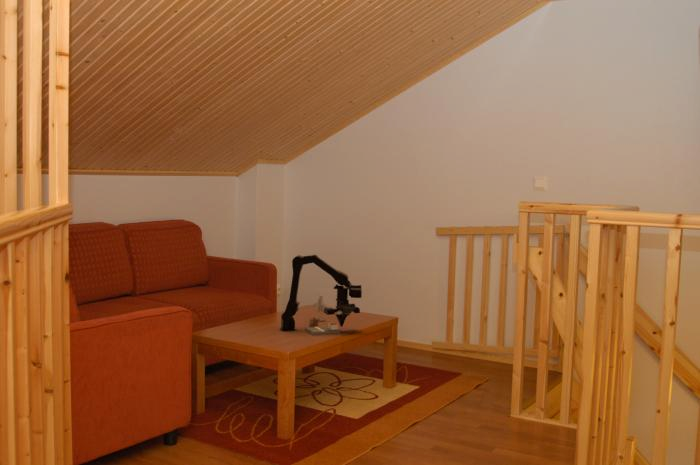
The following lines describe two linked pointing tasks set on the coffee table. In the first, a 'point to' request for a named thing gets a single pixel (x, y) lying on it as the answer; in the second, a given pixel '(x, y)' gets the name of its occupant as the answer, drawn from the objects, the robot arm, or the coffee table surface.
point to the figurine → (320, 305)
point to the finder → (332, 326)
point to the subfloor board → (321, 330)
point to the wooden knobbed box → (313, 322)
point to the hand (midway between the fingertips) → (341, 326)
